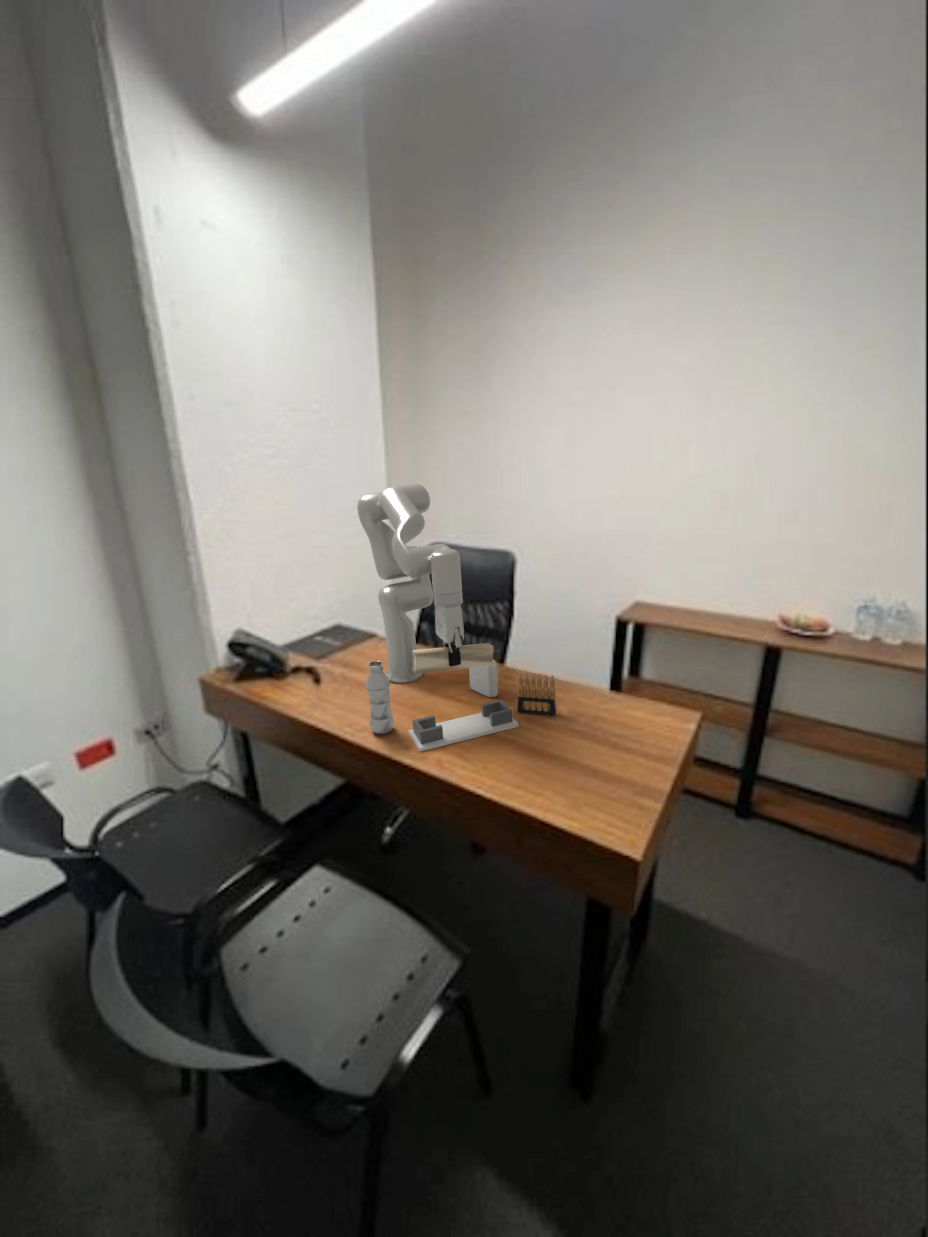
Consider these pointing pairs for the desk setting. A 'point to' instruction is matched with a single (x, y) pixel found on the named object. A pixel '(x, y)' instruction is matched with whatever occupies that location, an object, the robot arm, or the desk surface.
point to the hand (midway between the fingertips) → (452, 662)
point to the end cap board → (462, 726)
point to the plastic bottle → (379, 699)
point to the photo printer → (484, 679)
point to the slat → (440, 661)
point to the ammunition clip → (536, 696)
